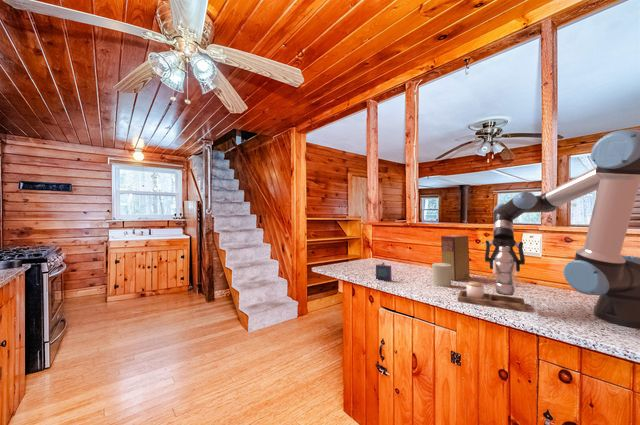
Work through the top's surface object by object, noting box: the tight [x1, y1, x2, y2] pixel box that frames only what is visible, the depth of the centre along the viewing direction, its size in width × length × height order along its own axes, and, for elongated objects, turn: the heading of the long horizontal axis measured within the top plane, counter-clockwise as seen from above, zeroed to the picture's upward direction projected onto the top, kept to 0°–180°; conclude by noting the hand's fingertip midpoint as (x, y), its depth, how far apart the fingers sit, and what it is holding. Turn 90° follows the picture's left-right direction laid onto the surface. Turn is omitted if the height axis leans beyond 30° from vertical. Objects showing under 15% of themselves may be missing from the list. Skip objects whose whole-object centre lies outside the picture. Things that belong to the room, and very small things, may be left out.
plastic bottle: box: [494, 246, 516, 297], centre depth 109 cm, size 6×7×20 cm
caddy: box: [457, 289, 527, 312], centre depth 112 cm, size 23×11×3 cm, turn 56°
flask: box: [375, 261, 393, 282], centre depth 155 cm, size 9×3×11 cm, turn 61°
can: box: [431, 262, 452, 288], centre depth 140 cm, size 9×9×12 cm
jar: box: [466, 280, 485, 300], centre depth 115 cm, size 6×6×7 cm
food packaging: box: [440, 234, 471, 282], centre depth 156 cm, size 13×9×25 cm
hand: (504, 276), depth 106 cm, fingers closed on plastic bottle, 6 cm apart
